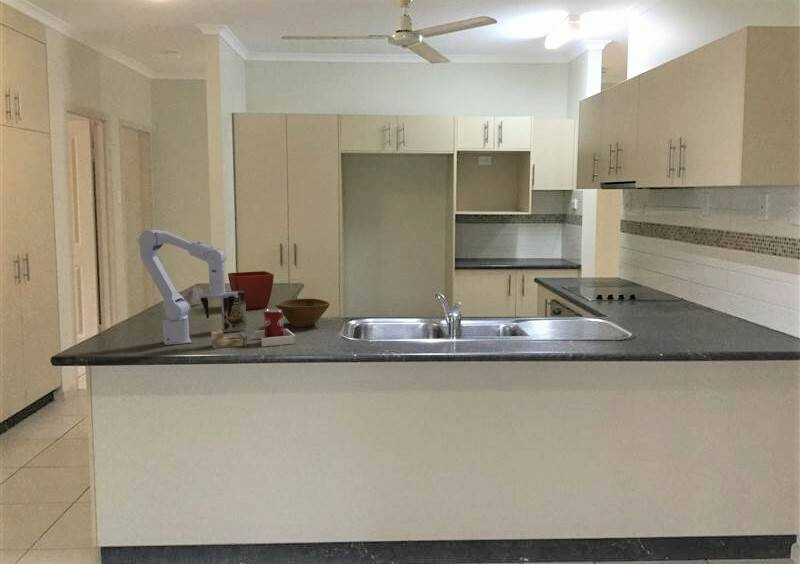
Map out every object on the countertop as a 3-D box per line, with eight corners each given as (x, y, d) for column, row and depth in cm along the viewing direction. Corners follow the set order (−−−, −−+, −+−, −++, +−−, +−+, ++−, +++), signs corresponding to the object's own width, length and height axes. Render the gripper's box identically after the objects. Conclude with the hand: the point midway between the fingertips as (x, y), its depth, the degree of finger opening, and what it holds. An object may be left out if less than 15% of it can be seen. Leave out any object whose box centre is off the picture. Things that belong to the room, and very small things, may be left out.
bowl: (321, 331, 280) (320, 307, 279) (268, 329, 285) (267, 305, 283) (336, 321, 301) (336, 298, 300) (287, 319, 306) (286, 297, 305)
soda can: (264, 343, 257) (263, 312, 256) (264, 339, 264) (263, 309, 263) (283, 342, 258) (283, 311, 257) (283, 338, 266) (282, 308, 264)
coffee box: (224, 332, 278) (222, 293, 276) (222, 329, 284) (220, 291, 282) (246, 330, 282) (245, 292, 280) (244, 327, 288) (243, 289, 286)
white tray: (262, 346, 252) (261, 338, 252) (254, 338, 266) (254, 331, 265) (296, 343, 257) (295, 335, 257) (287, 336, 271) (286, 328, 270)
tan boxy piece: (214, 349, 249) (213, 334, 248) (211, 344, 257) (210, 329, 256) (247, 346, 253) (246, 331, 252) (242, 341, 261) (242, 327, 261)
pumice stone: (193, 302, 356) (193, 283, 354) (207, 303, 354) (206, 283, 352) (177, 307, 341) (176, 287, 340) (191, 307, 339) (190, 287, 338)
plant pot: (228, 305, 344) (227, 272, 342) (265, 303, 352) (264, 270, 350) (236, 311, 327) (235, 276, 325) (275, 308, 335) (274, 274, 333)
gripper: (197, 283, 250) (199, 320, 251) (238, 281, 255) (239, 317, 257) (196, 281, 256) (197, 317, 258) (235, 279, 261) (236, 314, 263)
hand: (218, 317), depth 258 cm, fingers open, 7 cm apart
